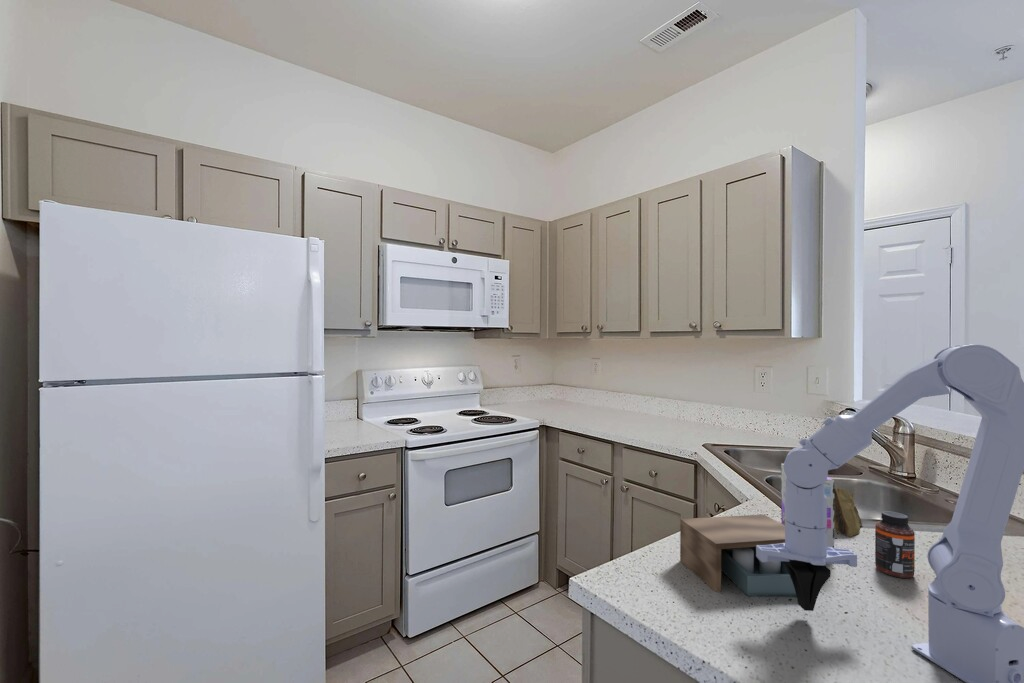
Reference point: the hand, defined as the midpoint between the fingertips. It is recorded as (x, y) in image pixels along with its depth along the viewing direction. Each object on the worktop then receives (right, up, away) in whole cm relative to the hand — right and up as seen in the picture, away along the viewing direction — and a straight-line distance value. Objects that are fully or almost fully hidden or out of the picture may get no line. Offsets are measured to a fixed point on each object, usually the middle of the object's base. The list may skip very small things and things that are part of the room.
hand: (805, 607), depth 73 cm
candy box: (+18, -3, +28) cm, 34 cm away
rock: (+35, -3, +37) cm, 51 cm away
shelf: (-3, -2, +15) cm, 16 cm away
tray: (-1, -2, +13) cm, 13 cm away
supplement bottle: (+28, -3, +16) cm, 32 cm away
